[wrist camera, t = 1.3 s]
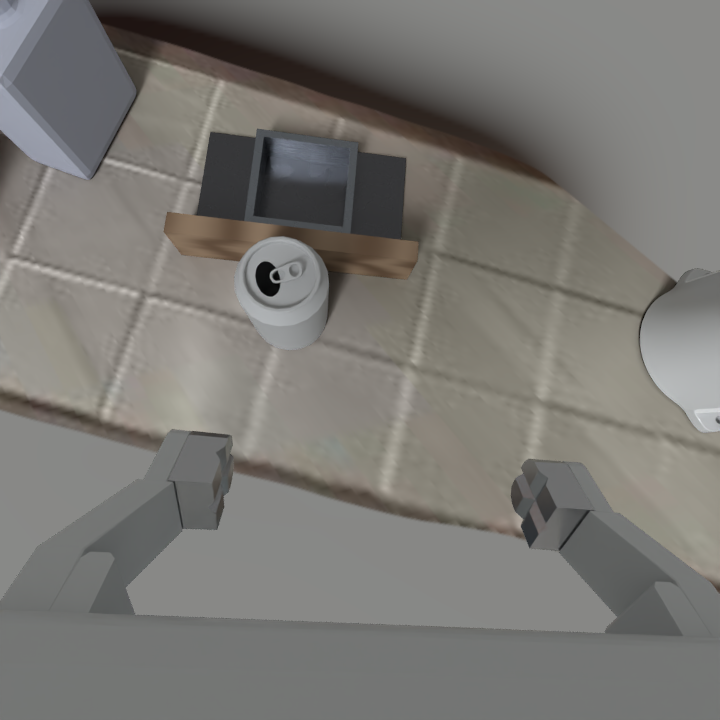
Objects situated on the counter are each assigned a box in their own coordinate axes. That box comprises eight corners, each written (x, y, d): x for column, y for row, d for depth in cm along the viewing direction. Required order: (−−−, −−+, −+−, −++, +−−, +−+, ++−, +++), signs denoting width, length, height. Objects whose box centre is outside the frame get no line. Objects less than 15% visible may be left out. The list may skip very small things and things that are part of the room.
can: (247, 291, 42) (219, 237, 30) (317, 276, 43) (315, 218, 31) (264, 359, 41) (241, 331, 29) (335, 342, 42) (340, 307, 30)
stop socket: (405, 160, 47) (411, 140, 43) (399, 257, 44) (405, 243, 41) (211, 134, 45) (202, 110, 42) (195, 233, 43) (184, 217, 39)
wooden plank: (407, 262, 44) (418, 241, 40) (406, 279, 44) (417, 260, 39) (184, 237, 43) (167, 211, 38) (181, 254, 42) (163, 231, 37)
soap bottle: (83, 71, 45) (-166, -307, 22) (141, 92, 45) (-47, -261, 22) (31, 162, 42) (-311, -155, 19) (92, 184, 43) (-176, -104, 20)
